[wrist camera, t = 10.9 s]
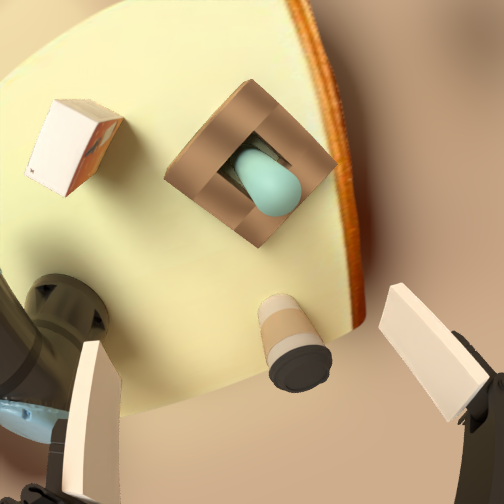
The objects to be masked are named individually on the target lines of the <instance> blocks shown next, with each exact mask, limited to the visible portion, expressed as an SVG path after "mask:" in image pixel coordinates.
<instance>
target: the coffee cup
mask: <svg viewBox="0 0 504 504" xmlns="http://www.w3.org/2000/svg"><path fill="white" fill-rule="evenodd" d="M258 318H259V323H260V328H261V337H262V342H263V347H264V352H265V358H266V363H267V365H268V367H269V377H270V379H271V381H272V382H273V383H274V385H275V386H276V387H277V388H279V389H282V390H285V391H288V392H291V393H299V392H304V391H307V390H310V389H312V388H314V387H316V386H317V385H319V384H320V383H323V382H325V381H326V380H327V379H328V377H329V370H330V368H331V366H332V355H331V352H330V350H329V349H328V348H326V347H325V345H324V344H323V340H322V339H321V337H320V336H319V334H318V333H317V331H316V330H315V328H314V327H313V325H312V324H311V322H310V321H309V319H308V318H307V316H306V315H305V313H304V312H303V311H302V310H301V308H300V307H299V305H298V304H297V302H296V301H295V299H294V298H293V297H292V296H290V295H287V294H276V295H273V296H271V297H269V298H267V299H266V300H265V301H263V303H262V304H261V305H260V307H259V309H258Z"/></svg>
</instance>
